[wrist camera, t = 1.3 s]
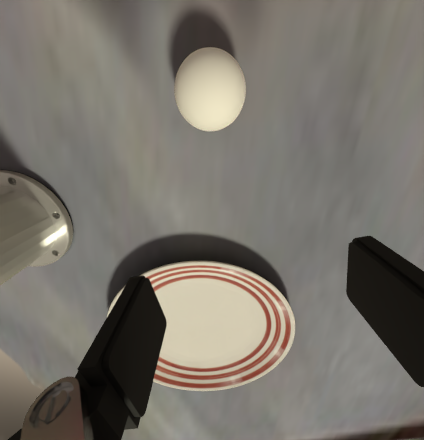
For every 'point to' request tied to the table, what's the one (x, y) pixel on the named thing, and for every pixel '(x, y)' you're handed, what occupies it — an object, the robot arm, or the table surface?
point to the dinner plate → (218, 325)
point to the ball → (210, 89)
